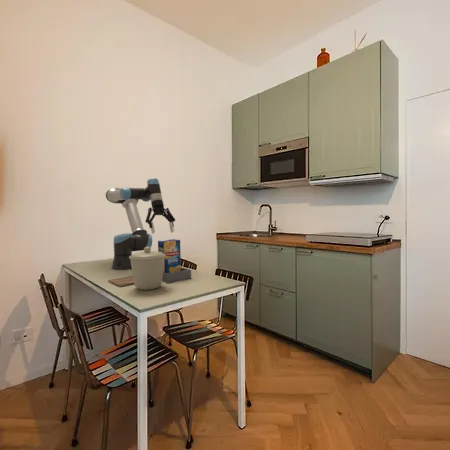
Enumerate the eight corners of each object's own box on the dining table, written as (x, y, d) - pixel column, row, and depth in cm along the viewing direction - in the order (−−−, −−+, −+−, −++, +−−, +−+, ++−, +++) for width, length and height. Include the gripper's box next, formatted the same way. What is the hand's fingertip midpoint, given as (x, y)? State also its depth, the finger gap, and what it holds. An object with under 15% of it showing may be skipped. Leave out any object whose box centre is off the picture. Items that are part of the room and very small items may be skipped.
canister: (143, 294, 137) (142, 250, 136) (123, 288, 149) (121, 247, 148) (173, 286, 151) (172, 246, 150) (152, 281, 162) (151, 243, 161)
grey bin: (149, 277, 173) (149, 268, 173) (172, 272, 184) (172, 265, 183) (166, 283, 158) (166, 274, 158) (191, 278, 169) (190, 269, 169)
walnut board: (108, 281, 163) (108, 280, 163) (132, 277, 172) (132, 276, 172) (119, 287, 151) (119, 285, 151) (144, 282, 160) (144, 280, 160)
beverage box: (158, 278, 170) (157, 240, 169) (174, 275, 177) (174, 239, 176) (164, 280, 165) (163, 241, 163) (181, 277, 172) (180, 240, 171)
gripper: (141, 198, 177) (147, 231, 172) (176, 199, 194) (182, 229, 189) (136, 203, 182) (142, 235, 177) (170, 204, 199) (177, 233, 194)
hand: (163, 232), depth 183 cm, fingers open, 13 cm apart
